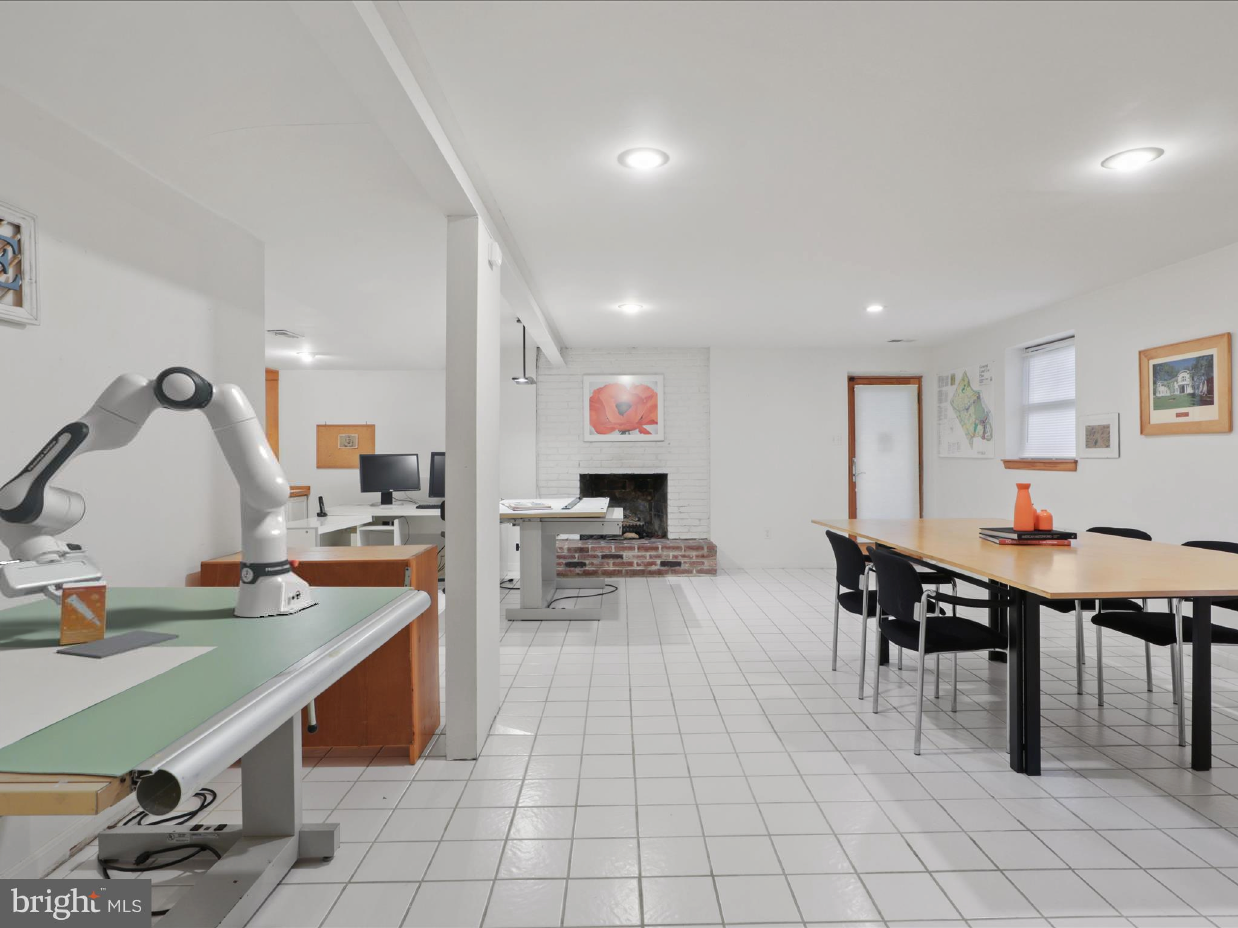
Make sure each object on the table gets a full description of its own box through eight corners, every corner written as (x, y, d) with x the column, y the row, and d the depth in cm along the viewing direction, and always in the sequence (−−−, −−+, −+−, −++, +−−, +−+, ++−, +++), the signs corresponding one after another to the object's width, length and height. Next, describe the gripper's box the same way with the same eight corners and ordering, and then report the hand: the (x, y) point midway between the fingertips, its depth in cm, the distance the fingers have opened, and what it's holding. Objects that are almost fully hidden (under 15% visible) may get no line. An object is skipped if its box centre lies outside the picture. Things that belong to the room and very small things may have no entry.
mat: (137, 632, 163) (137, 630, 163) (178, 636, 159) (178, 634, 159) (56, 652, 146) (56, 650, 146) (100, 658, 142) (101, 655, 142)
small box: (59, 645, 151) (61, 587, 151) (60, 639, 156) (62, 582, 156) (105, 640, 156) (106, 584, 156) (104, 634, 161) (106, 579, 161)
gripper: (-6, 553, 149) (23, 602, 147) (91, 543, 169) (118, 586, 166) (-20, 572, 151) (9, 620, 148) (77, 560, 170) (105, 602, 167)
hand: (67, 602), depth 157 cm, fingers closed
